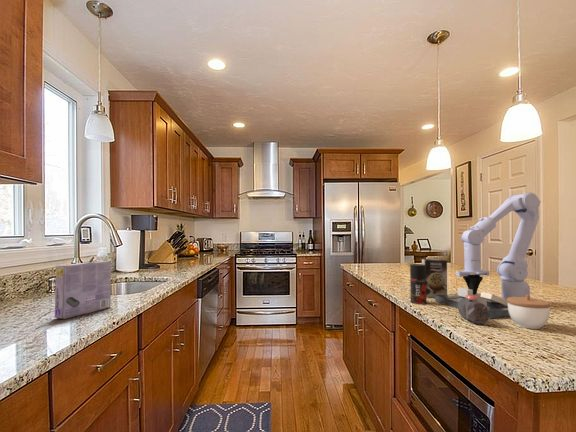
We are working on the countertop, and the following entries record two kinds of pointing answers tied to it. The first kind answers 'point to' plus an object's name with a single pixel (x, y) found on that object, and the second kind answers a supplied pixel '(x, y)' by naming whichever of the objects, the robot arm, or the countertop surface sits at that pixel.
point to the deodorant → (418, 283)
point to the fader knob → (464, 292)
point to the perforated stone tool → (473, 310)
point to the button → (472, 297)
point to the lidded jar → (528, 311)
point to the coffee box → (435, 277)
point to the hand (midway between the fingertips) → (472, 294)
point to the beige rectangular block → (494, 298)
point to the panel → (493, 308)
